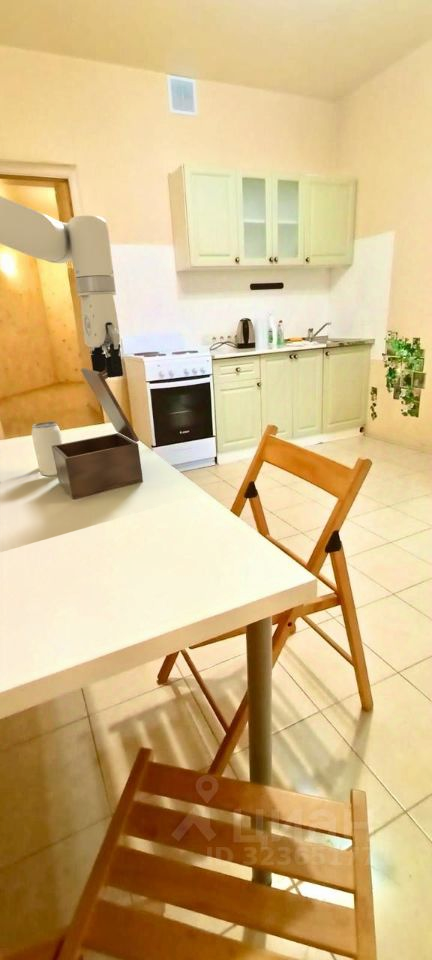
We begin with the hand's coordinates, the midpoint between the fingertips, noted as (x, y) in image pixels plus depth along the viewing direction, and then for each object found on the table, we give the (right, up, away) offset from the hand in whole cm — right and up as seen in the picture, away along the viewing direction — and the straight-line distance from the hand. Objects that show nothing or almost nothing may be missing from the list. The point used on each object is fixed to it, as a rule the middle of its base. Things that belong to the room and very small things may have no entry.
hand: (107, 374), depth 96 cm
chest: (-3, -23, +6) cm, 24 cm away
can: (-17, -21, +15) cm, 30 cm away
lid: (0, -6, +2) cm, 7 cm away
